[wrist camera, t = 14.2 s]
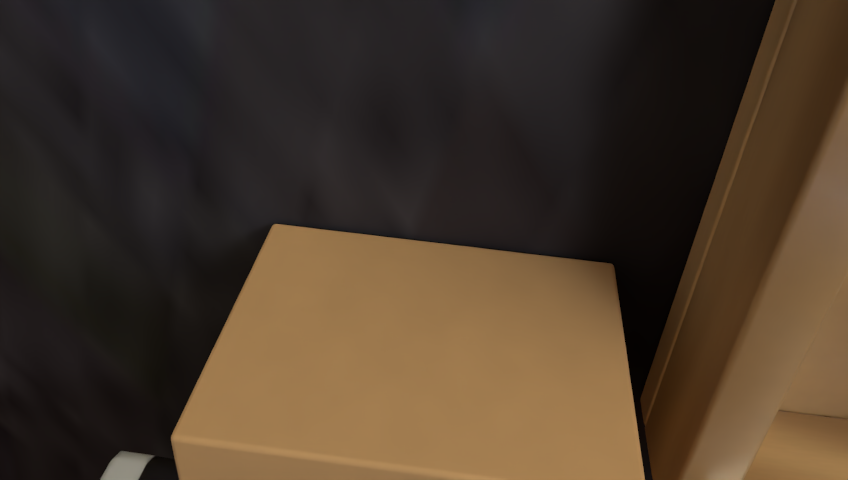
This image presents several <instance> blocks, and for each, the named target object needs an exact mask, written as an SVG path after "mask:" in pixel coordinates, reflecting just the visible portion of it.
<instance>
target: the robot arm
mask: <svg viewBox="0 0 848 480" xmlns="http://www.w3.org/2000/svg"><path fill="white" fill-rule="evenodd" d="M100 480H179V477H178V472H177V467H176V462H175V459H171V458H164V457H158V456H154V455H147V454H140V453H133V452H126V451H120V452H119V453H118V454H117V455H116V456H115V457H114V458H113V459H112V460H111V461H110V463H109V465H108V466H107V468H106V470H105V472H104V473H103V475H102V477H101V479H100Z"/></svg>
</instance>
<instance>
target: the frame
mask: <svg viewBox="0 0 848 480" xmlns="http://www.w3.org/2000/svg"><path fill="white" fill-rule="evenodd" d="M640 402H641V409H642V415H643V421H644V424H645V425H646V426H645V433H646V440H647V446H648V453H649V459H650V466H651V472H652V479H653V480H848V0H775V3H774V6H773V9H772V12H771V15H770V18H769V21H768V24H767V27H766V30H765V33H764V36H763V39H762V42H761V44H760V47H759V50H758V53H757V56H756V59H755V62H754V65H753V68H752V71H751V74H750V77H749V80H748V83H747V86H746V89H745V92H744V95H743V98H742V100H741V103H740V106H739V109H738V112H737V115H736V118H735V121H734V124H733V127H732V130H731V133H730V136H729V139H728V142H727V145H726V148H725V151H724V153H723V156H722V159H721V162H720V165H719V168H718V171H717V174H716V177H715V180H714V183H713V186H712V189H711V192H710V195H709V198H708V201H707V204H706V206H705V209H704V212H703V215H702V218H701V221H700V224H699V227H698V230H697V233H696V236H695V239H694V242H693V245H692V248H691V251H690V254H689V257H688V260H687V262H686V265H685V268H684V271H683V274H682V277H681V280H680V283H679V286H678V289H677V292H676V295H675V298H674V301H673V304H672V307H671V310H670V313H669V315H668V318H667V321H666V324H665V327H664V330H663V333H662V336H661V339H660V342H659V345H658V348H657V351H656V354H655V357H654V360H653V363H652V366H651V368H650V371H649V374H648V377H647V380H646V383H645V386H644V389H643V392H642V395H641V398H640Z"/></svg>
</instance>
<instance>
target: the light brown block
mask: <svg viewBox="0 0 848 480" xmlns="http://www.w3.org/2000/svg"><path fill="white" fill-rule="evenodd" d="M171 443H172V448H173V453H174V457H175V462H176V467H177V472H178V477H179V480H645V476H644V469H643V462H642V455H641V448H640V442H639V435H638V428H637V421H636V414H635V407H634V400H633V393H632V386H631V379H630V373H629V366H628V359H627V352H626V345H625V338H624V331H623V324H622V317H621V310H620V303H619V297H618V290H617V283H616V276H615V269H614V265H613V264H610V263H603V262H595V261H586V260H578V259H569V258H561V257H552V256H544V255H536V254H527V253H519V252H510V251H502V250H493V249H485V248H476V247H468V246H459V245H451V244H443V243H434V242H426V241H417V240H409V239H400V238H392V237H383V236H375V235H366V234H358V233H349V232H341V231H333V230H324V229H316V228H307V227H299V226H290V225H282V224H274V225H272V227H271V229H270V231H269V234H268V236H267V238H266V240H265V242H264V244H263V246H262V248H261V250H260V252H259V254H258V256H257V258H256V261H255V263H254V265H253V267H252V269H251V271H250V273H249V275H248V277H247V279H246V281H245V283H244V285H243V288H242V290H241V292H240V294H239V296H238V298H237V300H236V302H235V304H234V306H233V308H232V310H231V313H230V315H229V317H228V319H227V321H226V323H225V325H224V327H223V329H222V331H221V333H220V335H219V337H218V340H217V342H216V344H215V346H214V348H213V350H212V352H211V354H210V356H209V358H208V360H207V362H206V364H205V367H204V369H203V371H202V373H201V375H200V377H199V379H198V381H197V383H196V385H195V387H194V389H193V392H192V394H191V396H190V398H189V400H188V402H187V404H186V406H185V408H184V410H183V412H182V414H181V416H180V419H179V421H178V423H177V425H176V427H175V429H174V431H173V433H172V435H171Z"/></svg>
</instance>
